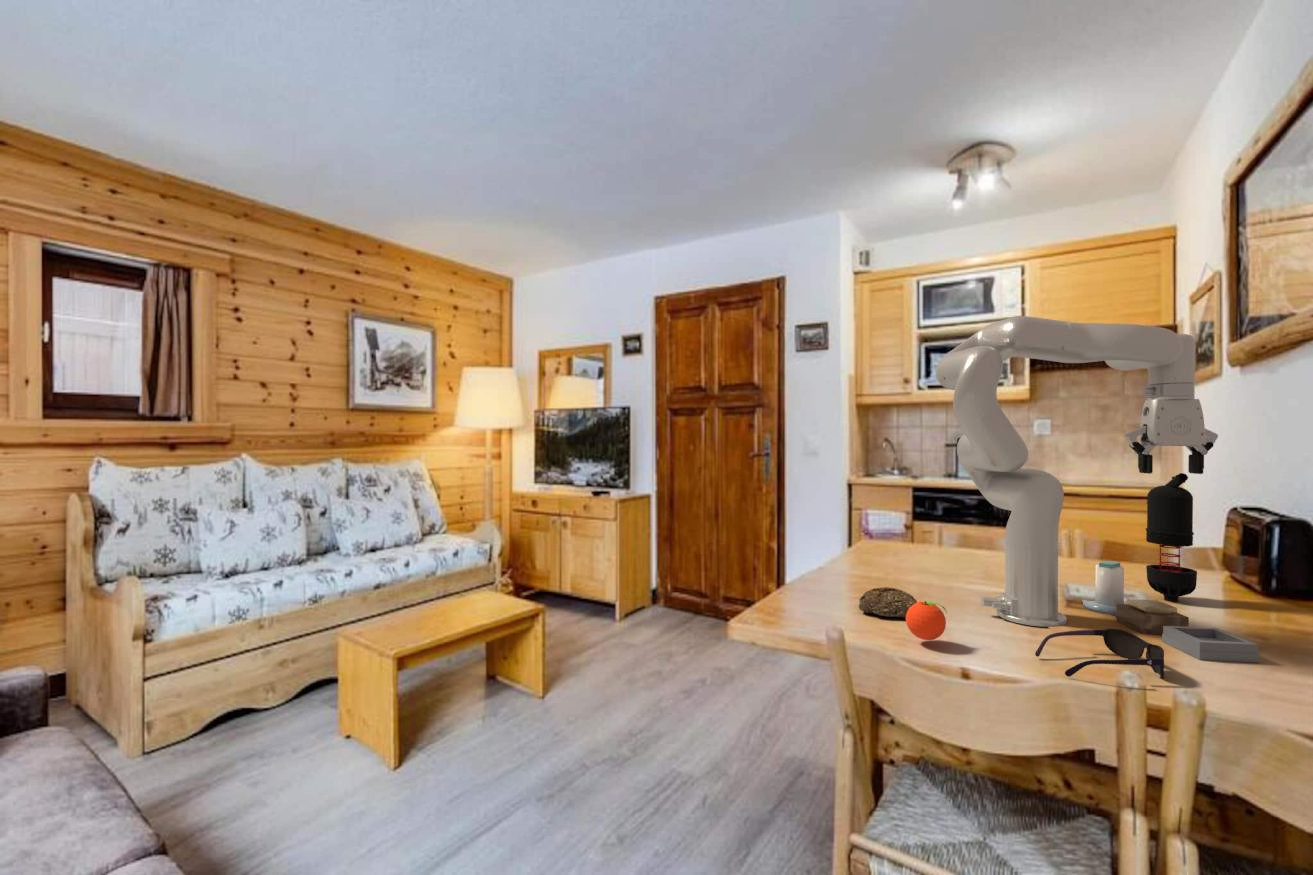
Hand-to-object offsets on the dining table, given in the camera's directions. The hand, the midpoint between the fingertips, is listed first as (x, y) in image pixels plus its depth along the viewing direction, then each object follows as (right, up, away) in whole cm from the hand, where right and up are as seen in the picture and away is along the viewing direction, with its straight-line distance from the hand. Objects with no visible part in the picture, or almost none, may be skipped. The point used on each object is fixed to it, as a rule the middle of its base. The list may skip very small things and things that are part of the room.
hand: (1170, 473), depth 127 cm
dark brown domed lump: (-58, -31, +5) cm, 66 cm away
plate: (-10, -30, +4) cm, 32 cm away
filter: (+10, -31, +12) cm, 34 cm away
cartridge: (-10, -29, +4) cm, 31 cm away
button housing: (-11, -30, -9) cm, 33 cm away
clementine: (-59, -31, -15) cm, 68 cm away
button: (-11, -29, -9) cm, 32 cm away
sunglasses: (-36, -31, -28) cm, 55 cm away
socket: (-12, -30, -22) cm, 39 cm away
